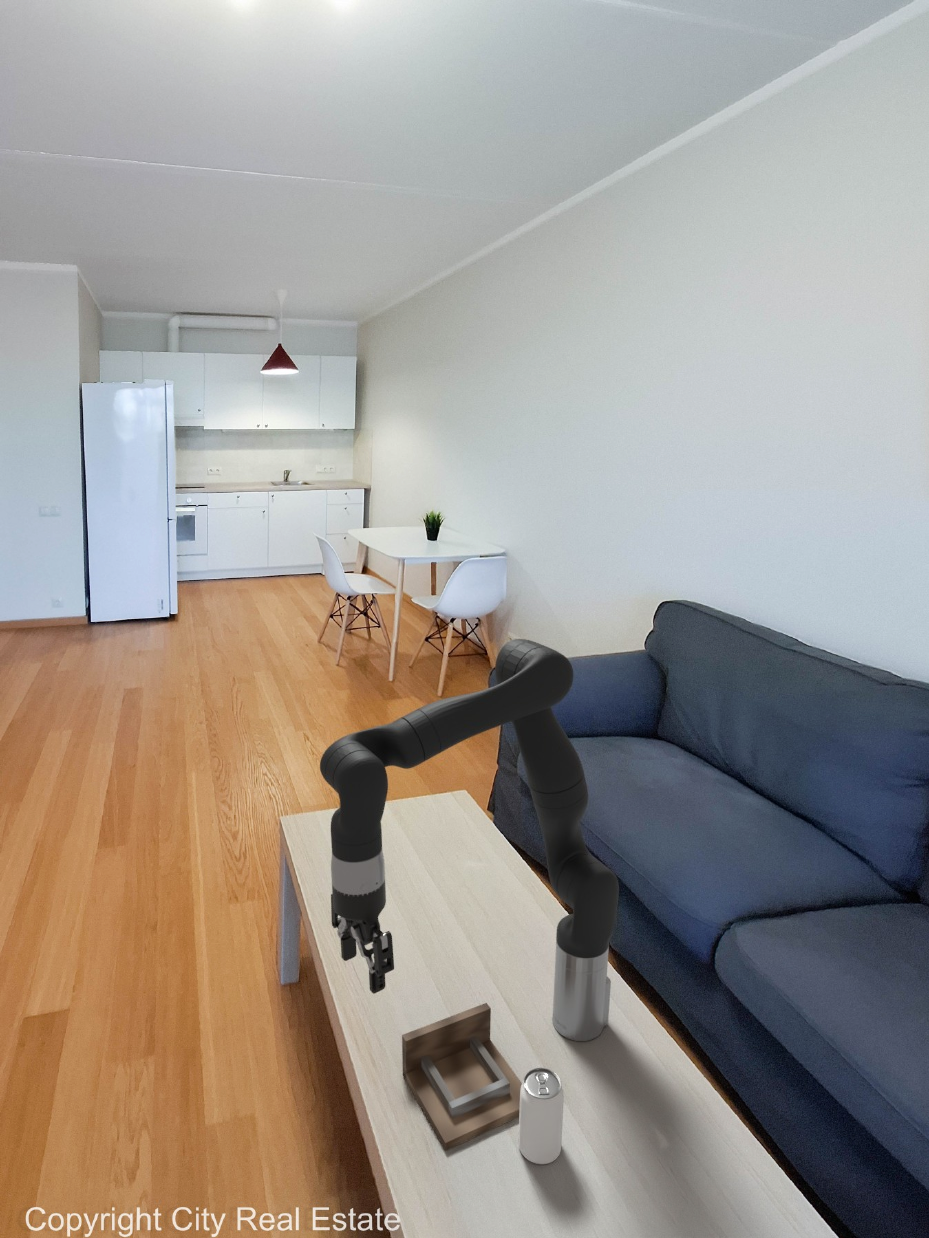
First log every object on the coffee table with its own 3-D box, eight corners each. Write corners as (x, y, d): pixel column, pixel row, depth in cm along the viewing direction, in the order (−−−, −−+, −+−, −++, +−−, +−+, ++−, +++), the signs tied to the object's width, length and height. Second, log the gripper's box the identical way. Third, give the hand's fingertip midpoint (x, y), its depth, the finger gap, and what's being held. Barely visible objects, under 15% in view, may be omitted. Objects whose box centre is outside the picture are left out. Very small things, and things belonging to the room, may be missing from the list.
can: (557, 1127, 125) (561, 1064, 122) (564, 1165, 119) (567, 1100, 116) (516, 1128, 125) (518, 1065, 122) (520, 1166, 119) (522, 1101, 115)
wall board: (485, 1040, 142) (486, 1002, 140) (534, 1108, 128) (536, 1068, 126) (402, 1074, 135) (402, 1034, 133) (445, 1150, 121) (445, 1108, 119)
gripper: (407, 891, 110) (410, 990, 115) (357, 846, 121) (361, 938, 126) (359, 911, 106) (364, 1013, 110) (311, 863, 117) (318, 957, 122)
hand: (363, 973), depth 118 cm, fingers open, 8 cm apart
